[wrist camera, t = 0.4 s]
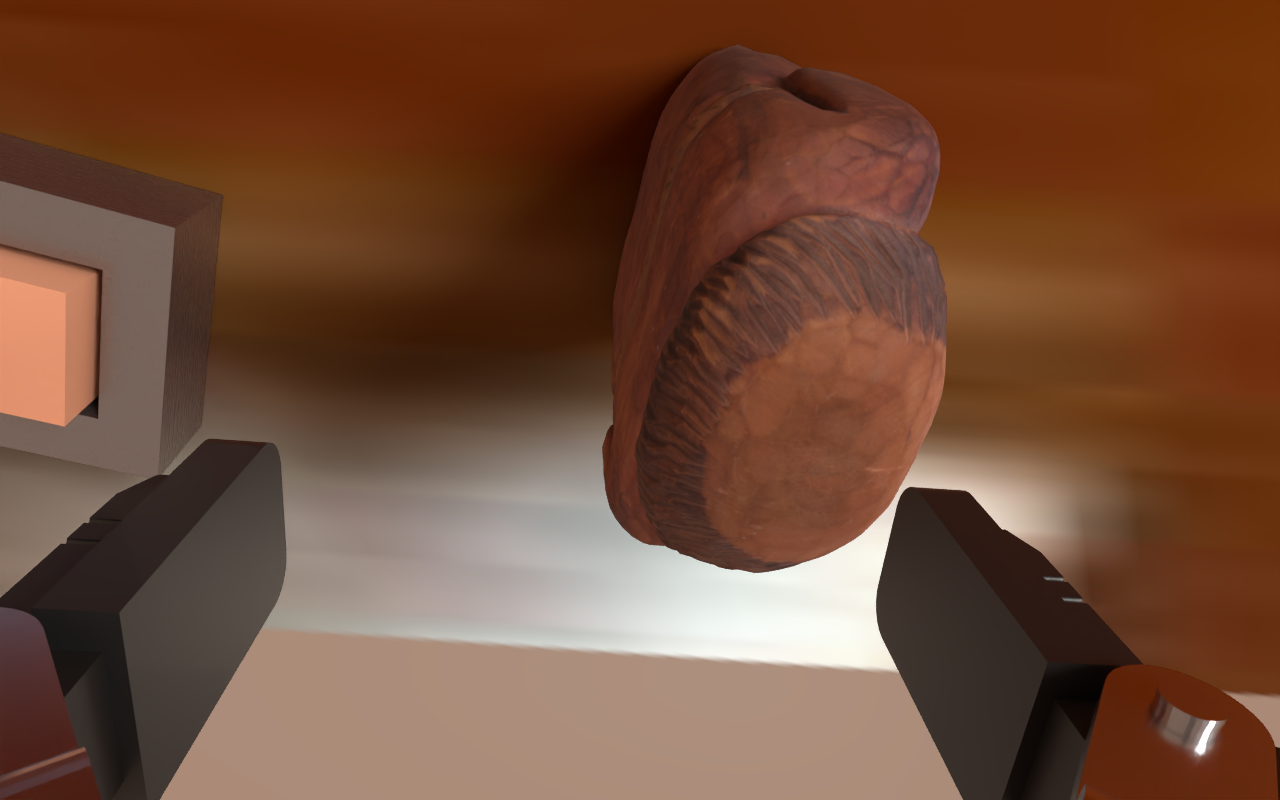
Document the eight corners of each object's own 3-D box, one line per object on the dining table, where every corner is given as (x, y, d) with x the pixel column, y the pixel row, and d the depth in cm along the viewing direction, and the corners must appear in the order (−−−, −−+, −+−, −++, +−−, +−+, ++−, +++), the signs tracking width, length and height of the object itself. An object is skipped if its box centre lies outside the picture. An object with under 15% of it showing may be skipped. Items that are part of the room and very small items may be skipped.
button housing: (-86, 108, 29) (-182, 131, 25) (222, 195, 30) (174, 228, 27) (-68, 364, 33) (-147, 414, 29) (201, 425, 35) (157, 479, 31)
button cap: (-48, 219, 28) (-114, 248, 25) (113, 261, 29) (65, 293, 26) (-41, 351, 30) (-101, 389, 28) (109, 385, 31) (64, 426, 28)
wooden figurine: (737, 358, 35) (861, 705, 19) (587, 320, 34) (585, 655, 18) (851, 63, 29) (1154, 200, 14) (677, 6, 28) (789, 85, 13)
